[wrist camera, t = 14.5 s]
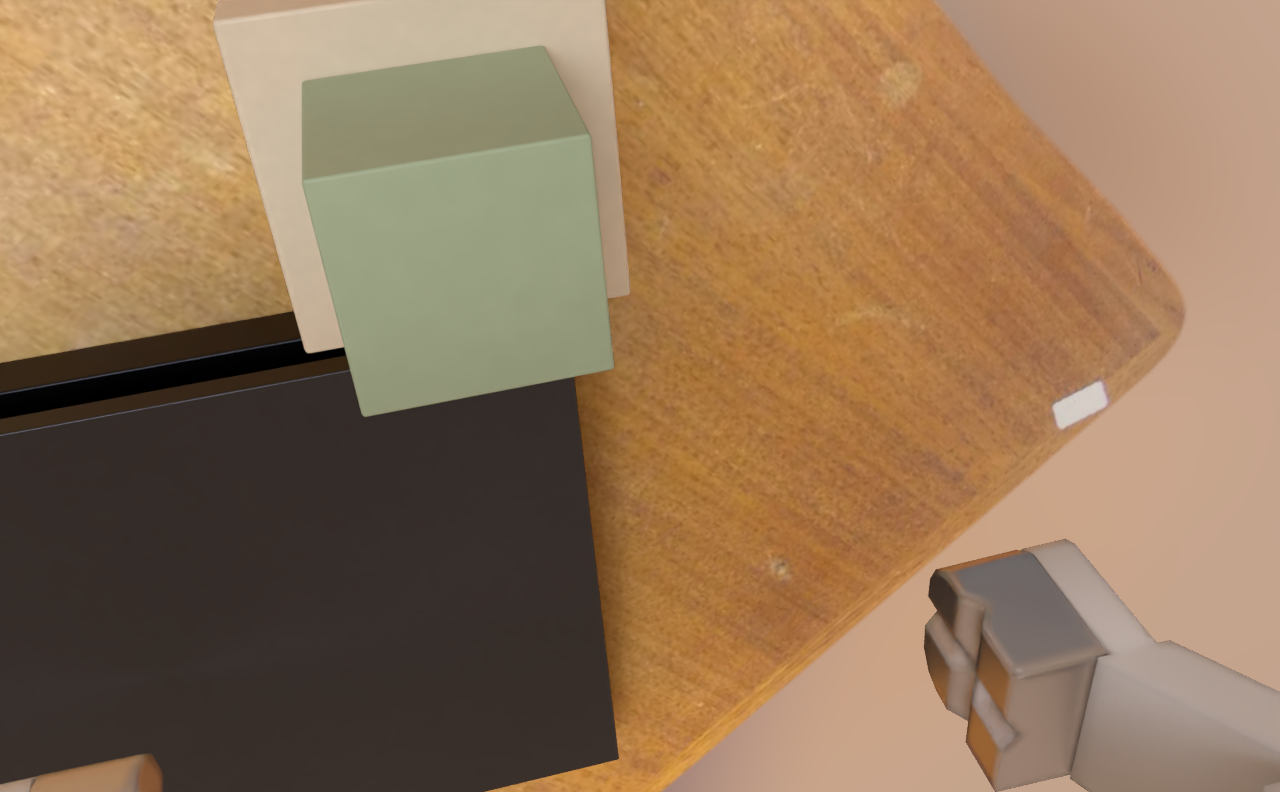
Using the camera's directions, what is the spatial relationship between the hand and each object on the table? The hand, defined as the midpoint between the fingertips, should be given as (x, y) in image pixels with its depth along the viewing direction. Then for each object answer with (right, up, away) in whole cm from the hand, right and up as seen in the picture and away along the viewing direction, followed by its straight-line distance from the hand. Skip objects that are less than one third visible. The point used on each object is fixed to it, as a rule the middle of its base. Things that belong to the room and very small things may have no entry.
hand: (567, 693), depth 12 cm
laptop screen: (-16, -6, +28) cm, 33 cm away
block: (-3, +7, +11) cm, 13 cm away
